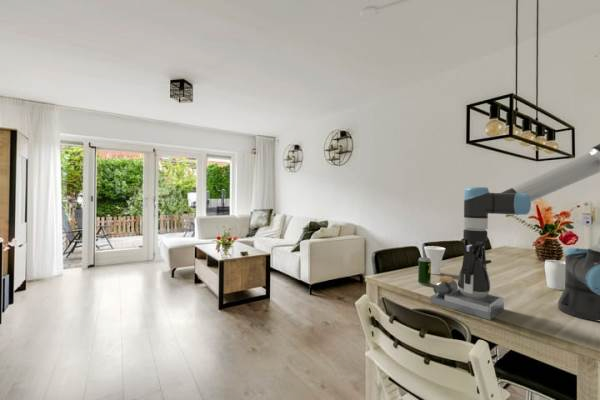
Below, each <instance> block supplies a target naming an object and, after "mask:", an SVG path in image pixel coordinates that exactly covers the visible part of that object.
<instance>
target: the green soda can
mask: <svg viewBox="0 0 600 400" xmlns="http://www.w3.org/2000/svg"><path fill="white" fill-rule="evenodd" d="M417 272H418V273H417V274H418V275H417V283H418V284H419V285H421V284H422V285H421V286H430V285H431V283H432V279H431V278H432V274H431V259H430V258H427V256H426V257H424V256H421V257H418V271H417Z"/></svg>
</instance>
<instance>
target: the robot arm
mask: <svg viewBox="0 0 600 400" xmlns="http://www.w3.org/2000/svg"><path fill="white" fill-rule="evenodd" d="M599 173H600V143H599V144H597V145H595V146H593V147H590V148H588V149H587V152H586V153H584V154H582V155H580V156H578V157H576V158H572V159H571V160H569V161H566V162H565V163H563V164H560V165H559V166H556V167H554V168H551V169H549V170H547V171H545V172H543V173H541V174H539V175H537V176H535V177H532V178H530V179H528V180H526V181H524V182H521V183H519V184H516V185H515V186H513V187H511V188H508V189H506V190H504V191H502V192H490V191H489V188H488V187H485V186H484V187H483V186H482V187H480V186H478V187H476V186H472V187H471V186H470V187H466V188H465V190H464V196H463V198H464V199H463V219H462V223H463V228H464V229H463V239H464V240H465V241H468V242H467V245H466V244H465V245H464V247H463V248H464V249H463V250H464V251H463V258H462V265H461V268H462V271H461V273H462V274H464V292H467V293H471V294H473V275H472V273H473V268H474V263H475V259H476V258H477V257H479V258H480V259H481V260H482V261H486V260H487V257H486V241H488V231H487V230H488V228H489V227H488V225H489V219H488V218H489V216H488V215H489V214H493V215H494V214H495V215H514V216H515V215H516V216H519V215H520V216H521V215H523V216H524V215H528V214H529V213H530V211H531V208H532V202H533V201H536V200H538V199H540V198H543V197H545V196H547V195H550V194H552V193H554V192H557V191H560V190H562V189H563V188H566V187H568V186H570V185H573V184H575V183H578V182H580V181H583V180H585V179H587V178H590V177H592V176H595V175H597V174H599ZM564 258H565V262H566V263H565V289H564V290H562V293H561V295H560V297H559V298H558V302H557V308H558V309H559V311H561V312H563V313H564V314H566V315H570V316H573V317H576V318H579V317H580V319H583V318H584V320H587V319H590V320H589V321H592V320H600V236H599V237H598V240H597V243H596V244H593V245H591V246H589V247H588V248H577V247H575V248H574V247H569V248H567V249H566V250H565V255H564ZM485 267H486V269H487V270H488V268H487V264H485Z"/></svg>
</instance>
